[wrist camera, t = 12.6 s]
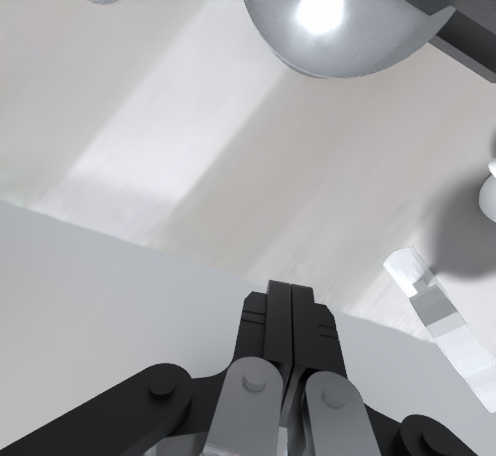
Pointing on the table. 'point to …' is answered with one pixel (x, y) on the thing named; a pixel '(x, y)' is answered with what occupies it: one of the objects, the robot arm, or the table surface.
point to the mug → (489, 193)
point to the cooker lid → (356, 30)
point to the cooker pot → (460, 45)
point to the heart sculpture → (445, 323)
